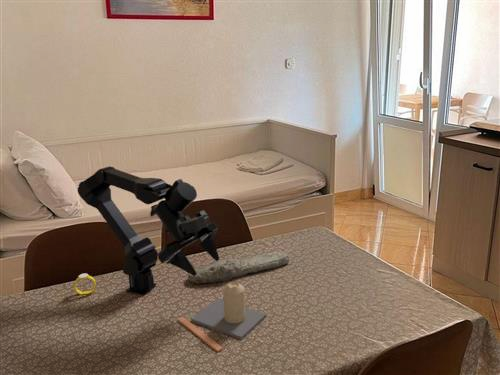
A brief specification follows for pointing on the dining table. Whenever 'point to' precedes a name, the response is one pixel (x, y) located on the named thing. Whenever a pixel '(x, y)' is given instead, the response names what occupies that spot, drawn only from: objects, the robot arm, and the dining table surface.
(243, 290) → the candle
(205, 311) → the mat
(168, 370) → the dining table surface
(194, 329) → the orange curved strip
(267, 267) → the long grey stone
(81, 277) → the gold diamond ring
